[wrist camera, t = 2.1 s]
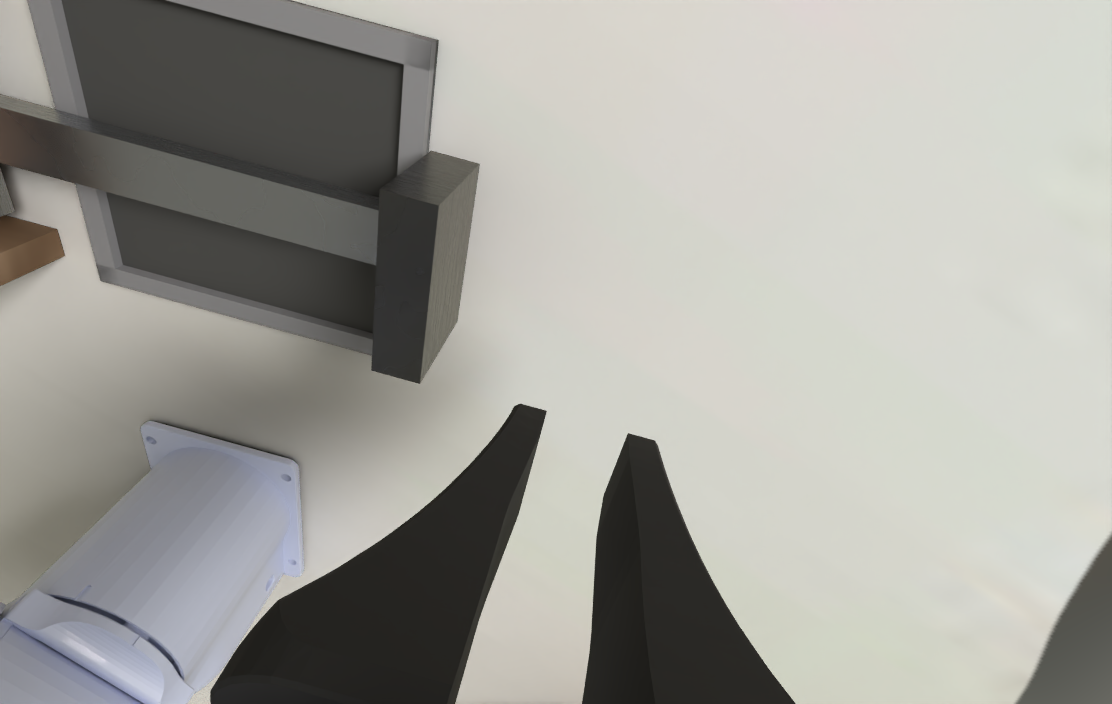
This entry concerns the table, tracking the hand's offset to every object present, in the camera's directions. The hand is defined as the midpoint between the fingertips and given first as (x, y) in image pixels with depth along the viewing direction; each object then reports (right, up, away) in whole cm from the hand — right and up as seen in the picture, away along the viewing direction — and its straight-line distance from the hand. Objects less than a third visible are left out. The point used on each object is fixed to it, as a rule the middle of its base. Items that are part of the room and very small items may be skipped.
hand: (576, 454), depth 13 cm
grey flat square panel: (-12, +9, +8) cm, 16 cm away
